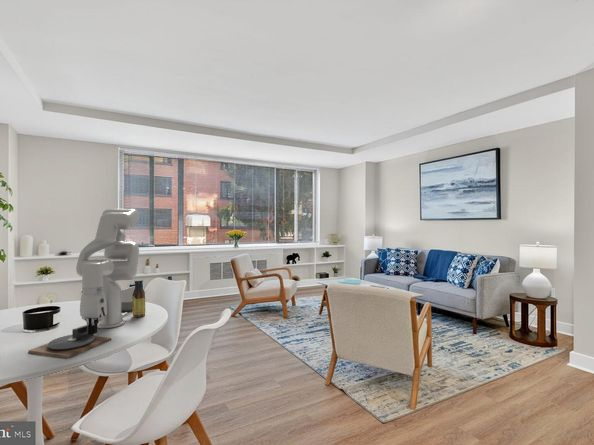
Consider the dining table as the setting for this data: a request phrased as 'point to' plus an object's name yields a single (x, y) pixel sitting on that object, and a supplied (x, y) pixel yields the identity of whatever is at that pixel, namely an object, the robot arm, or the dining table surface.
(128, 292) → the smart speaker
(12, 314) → the dining table surface
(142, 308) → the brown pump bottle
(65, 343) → the dial
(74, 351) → the dial base plate
